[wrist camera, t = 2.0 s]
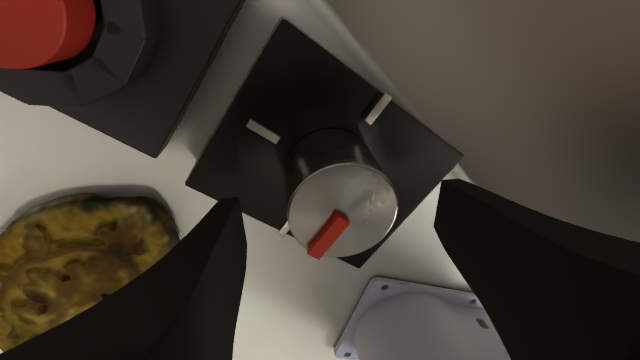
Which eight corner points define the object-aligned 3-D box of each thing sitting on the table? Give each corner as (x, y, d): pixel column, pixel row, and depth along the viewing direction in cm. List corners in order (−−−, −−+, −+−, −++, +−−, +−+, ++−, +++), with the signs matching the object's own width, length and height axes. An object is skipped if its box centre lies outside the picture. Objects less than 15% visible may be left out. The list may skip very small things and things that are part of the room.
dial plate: (442, 135, 17) (468, 155, 15) (349, 241, 20) (359, 272, 18) (283, 13, 14) (284, 15, 11) (195, 162, 16) (181, 188, 14)
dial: (319, 109, 13) (333, 144, 10) (390, 158, 15) (424, 202, 11) (267, 183, 14) (265, 236, 11) (338, 220, 16) (354, 277, 13)
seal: (67, 132, 16) (-31, 316, 20) (-22, 167, 12) (-123, 392, 16) (230, 231, 18) (112, 376, 23) (207, 290, 14) (67, 455, 18)
